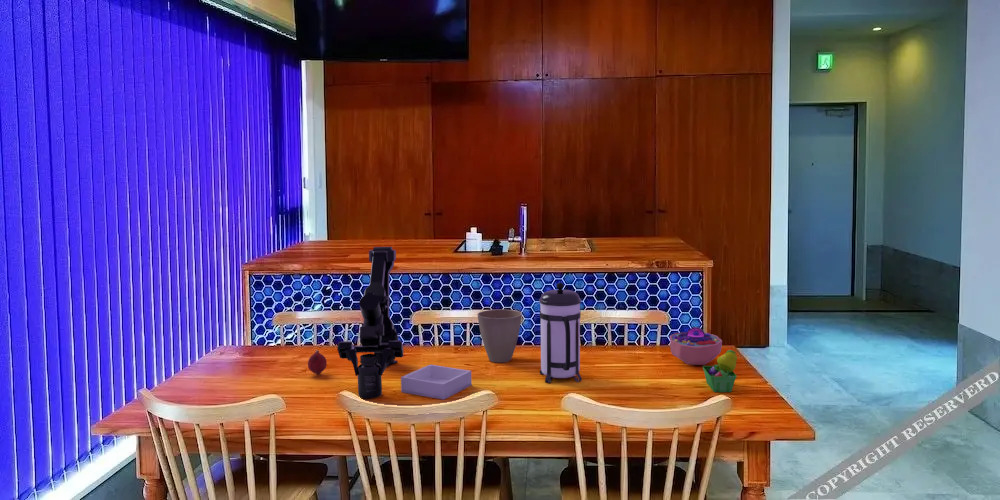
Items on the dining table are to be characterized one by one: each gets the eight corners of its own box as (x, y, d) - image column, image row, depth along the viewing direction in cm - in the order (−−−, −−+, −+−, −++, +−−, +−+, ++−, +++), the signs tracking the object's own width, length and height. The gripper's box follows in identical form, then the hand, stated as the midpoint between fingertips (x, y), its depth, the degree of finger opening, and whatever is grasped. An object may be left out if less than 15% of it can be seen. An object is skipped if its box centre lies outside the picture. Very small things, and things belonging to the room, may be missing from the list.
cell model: (663, 368, 246) (664, 334, 244) (674, 353, 264) (674, 321, 263) (718, 374, 239) (718, 338, 238) (724, 357, 258) (725, 324, 256)
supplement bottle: (386, 393, 225) (384, 353, 223) (375, 400, 219) (373, 359, 217) (365, 391, 227) (364, 351, 226) (353, 398, 221) (352, 357, 219)
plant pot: (531, 360, 257) (530, 314, 255) (494, 368, 249) (493, 320, 247) (505, 351, 269) (505, 307, 267) (469, 358, 261) (468, 312, 259)
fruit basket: (701, 381, 232) (702, 345, 230) (730, 381, 231) (731, 345, 230) (710, 393, 220) (711, 355, 219) (741, 393, 220) (742, 355, 219)
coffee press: (524, 379, 236) (523, 283, 233) (556, 368, 248) (556, 276, 244) (568, 390, 225) (568, 290, 221) (600, 378, 236) (600, 282, 232)
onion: (322, 377, 241) (321, 353, 240) (305, 377, 242) (304, 352, 241) (330, 372, 247) (328, 348, 246) (313, 371, 248) (312, 347, 247)
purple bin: (430, 378, 239) (430, 364, 238) (471, 385, 231) (471, 370, 231) (401, 391, 226) (400, 377, 225) (443, 399, 218) (443, 384, 218)
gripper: (337, 314, 223) (331, 361, 214) (401, 313, 224) (398, 360, 214) (343, 334, 232) (337, 380, 223) (404, 333, 233) (402, 379, 223)
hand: (368, 375), depth 221 cm, fingers closed on supplement bottle, 7 cm apart
